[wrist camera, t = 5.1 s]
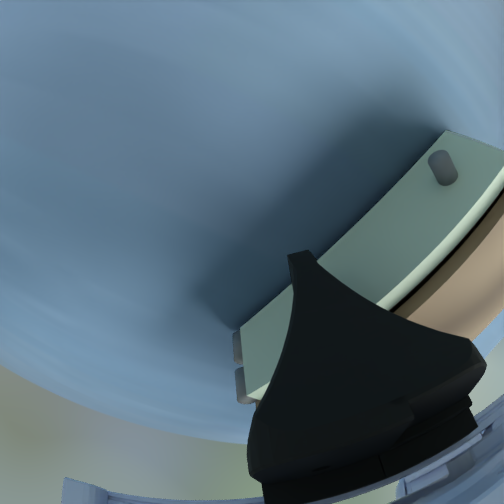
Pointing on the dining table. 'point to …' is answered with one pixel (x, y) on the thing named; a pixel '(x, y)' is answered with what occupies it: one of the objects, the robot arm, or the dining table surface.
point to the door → (386, 245)
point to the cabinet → (463, 282)
